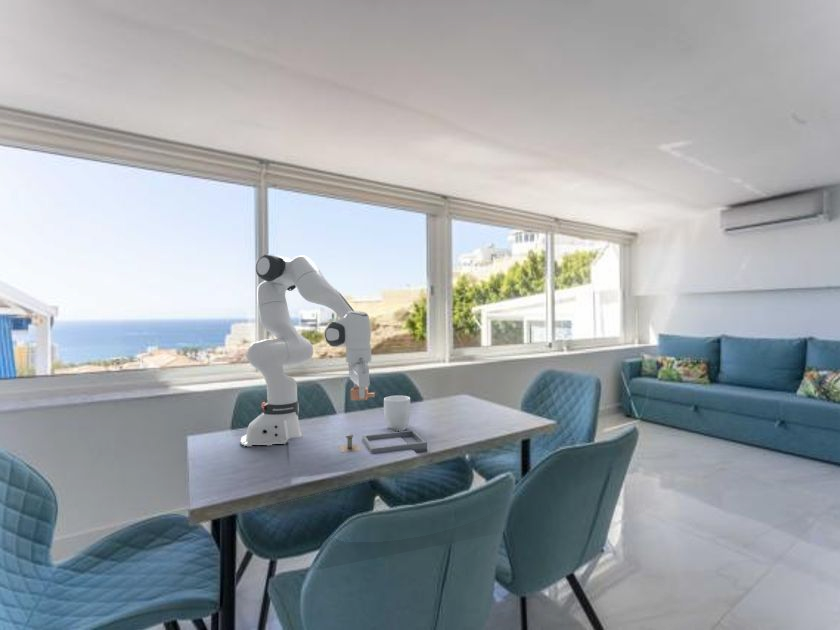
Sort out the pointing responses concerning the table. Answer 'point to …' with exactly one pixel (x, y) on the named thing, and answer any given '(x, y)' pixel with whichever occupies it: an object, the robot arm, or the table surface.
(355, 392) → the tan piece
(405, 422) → the mug
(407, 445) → the tray
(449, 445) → the table surface
